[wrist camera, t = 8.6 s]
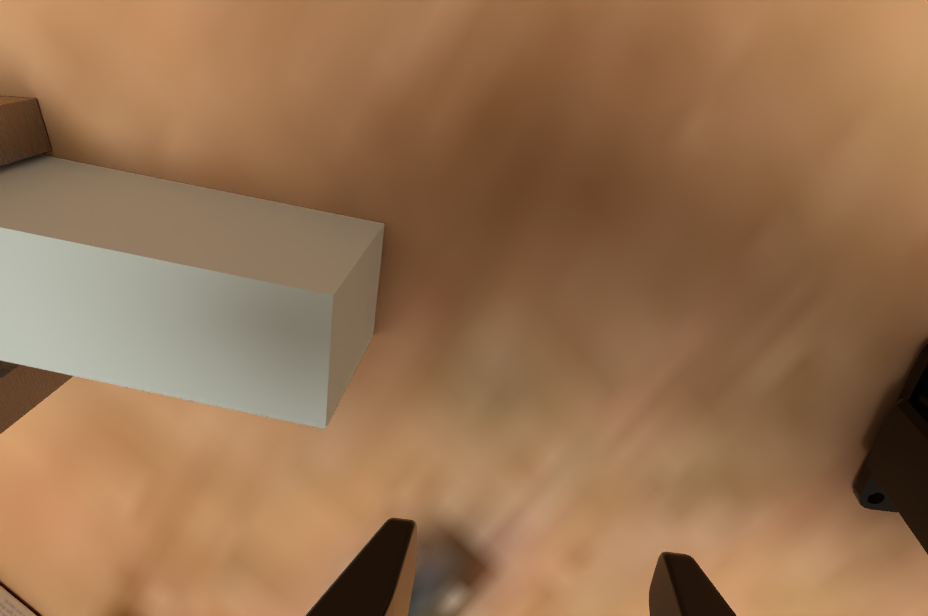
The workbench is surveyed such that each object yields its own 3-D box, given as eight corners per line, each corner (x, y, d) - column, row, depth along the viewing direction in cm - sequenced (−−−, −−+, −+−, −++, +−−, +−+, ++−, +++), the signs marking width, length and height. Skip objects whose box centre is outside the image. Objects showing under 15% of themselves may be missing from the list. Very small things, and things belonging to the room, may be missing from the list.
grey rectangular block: (386, 221, 17) (333, 295, 13) (374, 332, 19) (325, 429, 15) (7, 145, 18) (-168, 192, 13) (33, 261, 20) (-112, 336, 15)
